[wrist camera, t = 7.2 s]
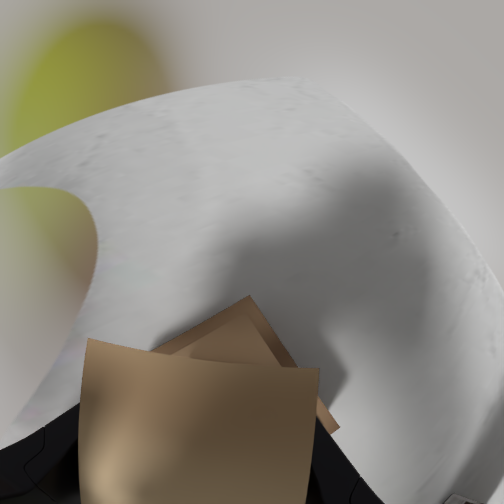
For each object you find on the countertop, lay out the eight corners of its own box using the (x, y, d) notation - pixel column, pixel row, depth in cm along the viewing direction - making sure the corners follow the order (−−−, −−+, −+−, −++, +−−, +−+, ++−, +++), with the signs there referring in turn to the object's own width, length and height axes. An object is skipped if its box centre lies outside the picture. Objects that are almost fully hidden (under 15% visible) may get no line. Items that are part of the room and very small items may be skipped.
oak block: (263, 457, 12) (294, 559, 3) (171, 446, 12) (83, 520, 3) (271, 373, 14) (319, 368, 5) (179, 363, 14) (87, 337, 5)
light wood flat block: (322, 418, 17) (341, 427, 14) (205, 484, 15) (197, 506, 11) (248, 309, 21) (249, 294, 17) (134, 373, 18) (110, 372, 15)
